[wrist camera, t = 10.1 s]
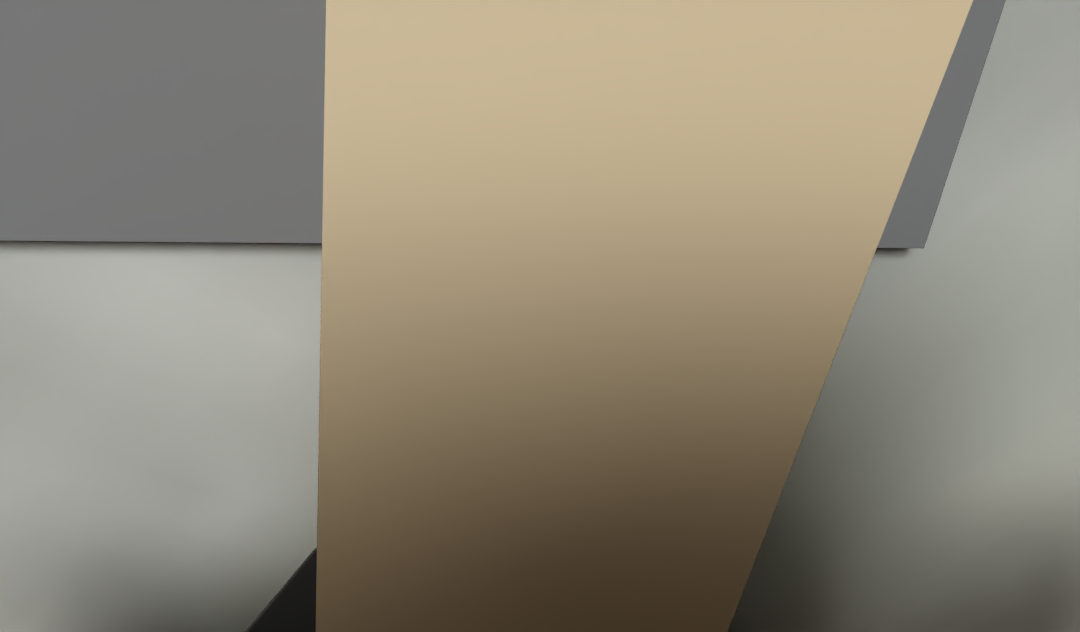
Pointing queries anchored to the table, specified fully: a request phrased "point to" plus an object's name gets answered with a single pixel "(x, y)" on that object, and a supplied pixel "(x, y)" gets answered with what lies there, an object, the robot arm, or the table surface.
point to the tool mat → (249, 121)
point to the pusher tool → (590, 292)
